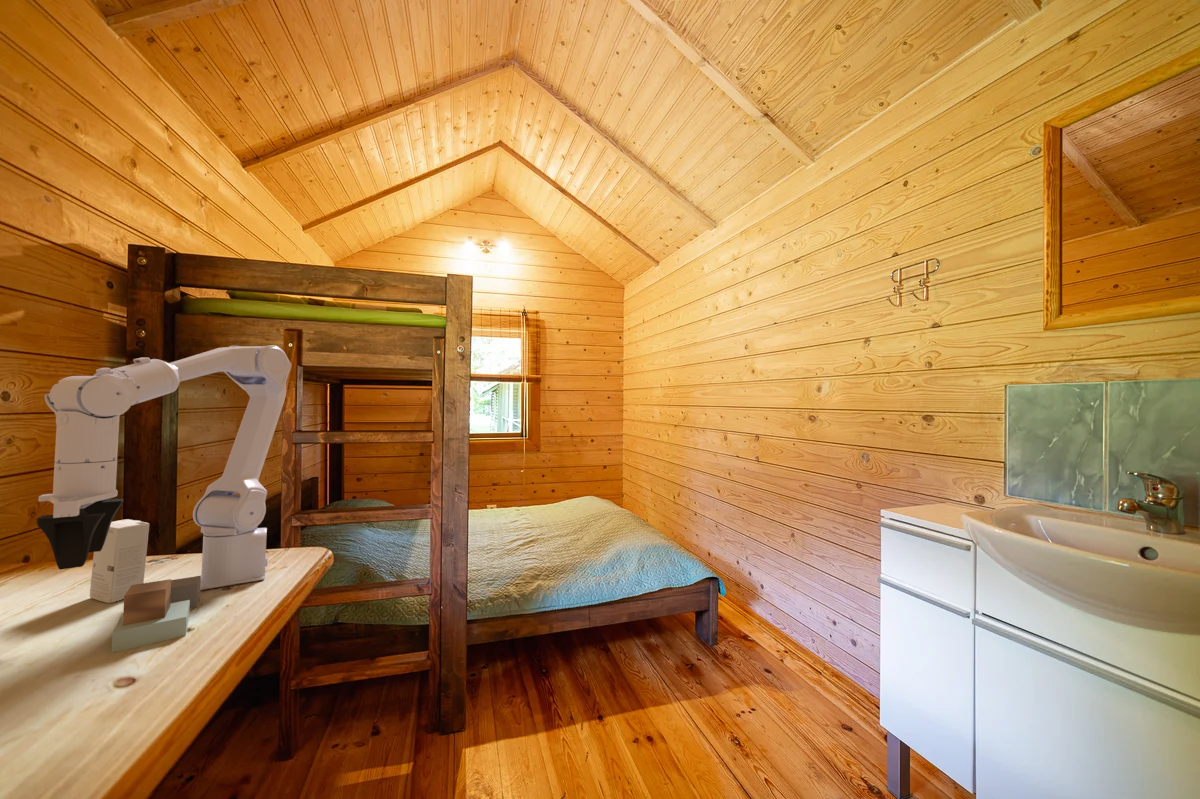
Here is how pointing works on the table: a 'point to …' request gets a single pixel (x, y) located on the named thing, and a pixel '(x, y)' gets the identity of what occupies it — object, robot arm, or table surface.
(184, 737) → the table surface
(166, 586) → the walnut cube
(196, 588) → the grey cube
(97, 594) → the skincare box
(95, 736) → the table surface
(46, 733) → the table surface
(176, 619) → the base block
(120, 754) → the table surface
